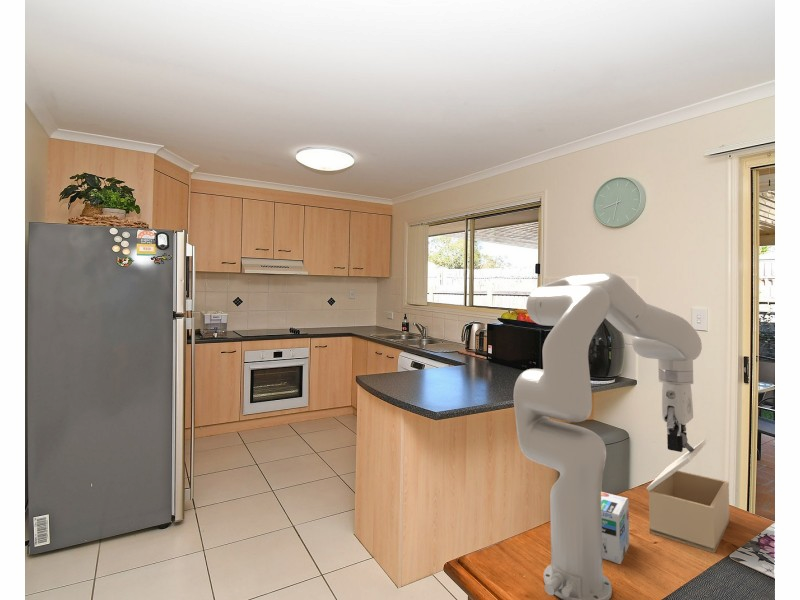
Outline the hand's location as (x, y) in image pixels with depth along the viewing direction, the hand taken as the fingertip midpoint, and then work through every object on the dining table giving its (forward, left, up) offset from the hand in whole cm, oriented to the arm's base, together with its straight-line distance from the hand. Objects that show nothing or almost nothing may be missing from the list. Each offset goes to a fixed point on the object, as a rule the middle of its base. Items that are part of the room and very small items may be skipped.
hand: (677, 447), depth 111 cm
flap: (0, 0, -4) cm, 4 cm away
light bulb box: (-24, +9, -19) cm, 32 cm away
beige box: (0, -2, -19) cm, 19 cm away
